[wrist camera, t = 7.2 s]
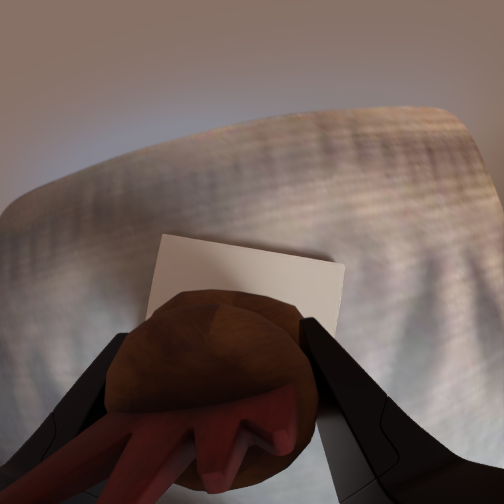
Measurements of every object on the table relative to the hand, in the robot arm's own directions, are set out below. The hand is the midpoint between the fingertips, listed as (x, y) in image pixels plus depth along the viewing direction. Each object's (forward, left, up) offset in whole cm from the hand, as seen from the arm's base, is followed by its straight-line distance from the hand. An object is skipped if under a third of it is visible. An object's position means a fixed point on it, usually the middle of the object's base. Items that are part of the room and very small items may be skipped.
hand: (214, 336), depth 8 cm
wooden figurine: (-1, 0, -8) cm, 8 cm away
